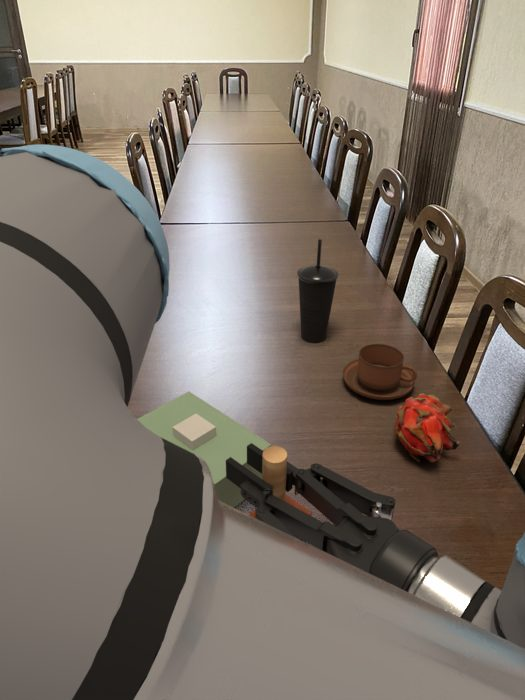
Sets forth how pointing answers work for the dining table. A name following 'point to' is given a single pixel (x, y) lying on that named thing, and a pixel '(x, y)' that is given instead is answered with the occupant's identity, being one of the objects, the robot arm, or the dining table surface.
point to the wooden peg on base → (277, 475)
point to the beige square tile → (194, 431)
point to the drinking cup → (316, 298)
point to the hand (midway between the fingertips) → (239, 460)
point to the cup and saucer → (380, 373)
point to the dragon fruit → (425, 427)
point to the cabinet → (214, 451)
